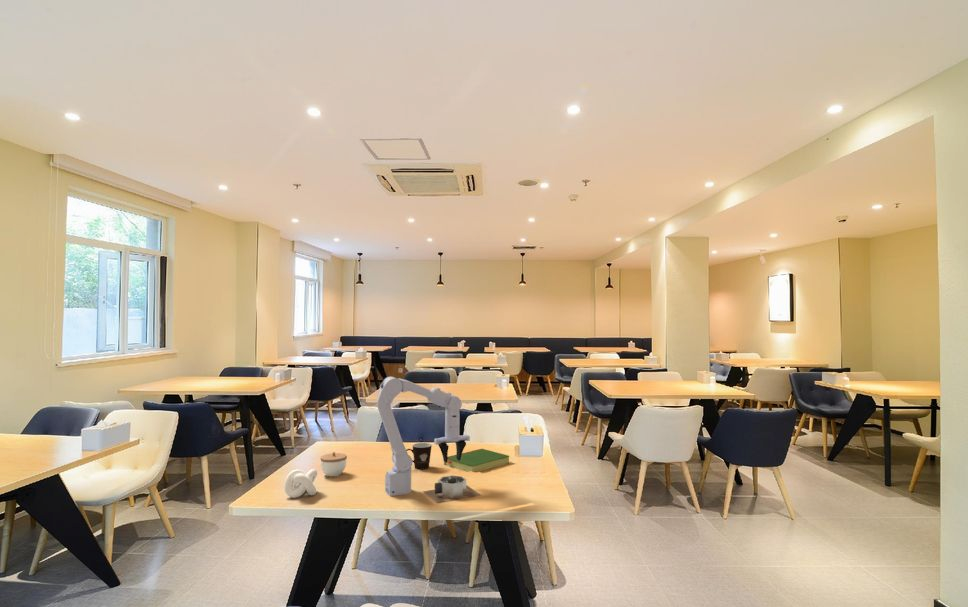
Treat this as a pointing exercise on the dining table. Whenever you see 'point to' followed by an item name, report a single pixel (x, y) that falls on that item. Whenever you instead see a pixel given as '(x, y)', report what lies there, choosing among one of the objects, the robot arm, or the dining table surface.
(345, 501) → the dining table surface
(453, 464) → the hardcover book
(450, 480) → the grey knobbed lid
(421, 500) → the dining table surface
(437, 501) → the serving board
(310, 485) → the white knot ornament
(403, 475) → the robot arm
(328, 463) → the lidded jar
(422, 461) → the coffee mug
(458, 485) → the silver octagonal piece
